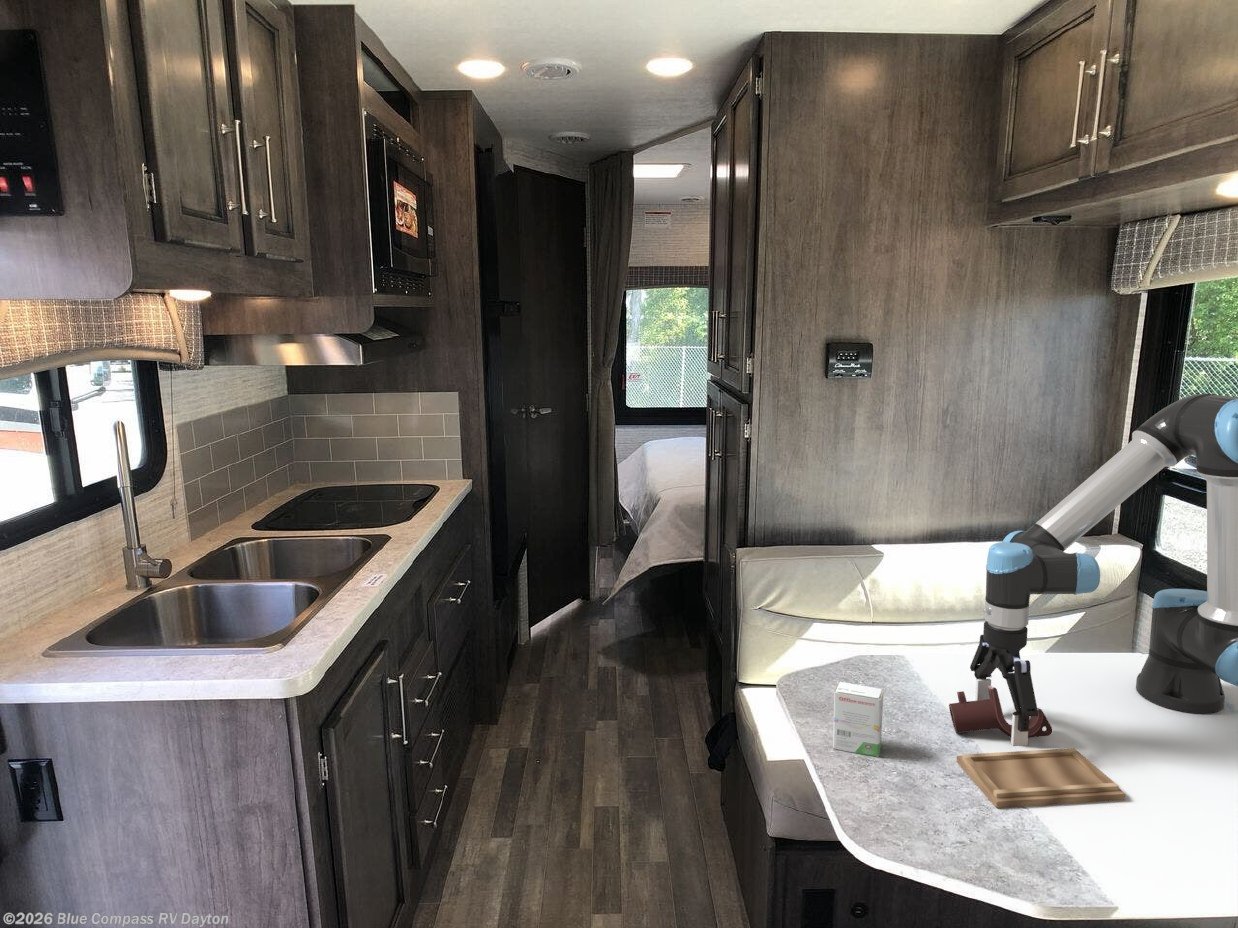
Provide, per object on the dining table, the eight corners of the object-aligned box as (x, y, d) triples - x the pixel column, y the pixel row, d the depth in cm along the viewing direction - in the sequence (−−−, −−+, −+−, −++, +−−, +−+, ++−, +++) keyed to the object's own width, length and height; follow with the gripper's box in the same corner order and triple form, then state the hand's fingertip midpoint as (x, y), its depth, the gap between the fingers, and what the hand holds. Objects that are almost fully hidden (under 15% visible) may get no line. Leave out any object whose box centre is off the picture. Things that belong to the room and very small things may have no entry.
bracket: (1056, 736, 145) (1042, 681, 147) (960, 746, 149) (948, 693, 152) (1049, 732, 151) (1035, 679, 153) (956, 742, 155) (944, 690, 157)
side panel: (1072, 754, 144) (1073, 744, 143) (1124, 800, 130) (1125, 789, 130) (956, 761, 143) (956, 751, 142) (996, 808, 129) (996, 797, 129)
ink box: (832, 749, 149) (833, 691, 147) (836, 735, 153) (837, 680, 151) (879, 758, 145) (880, 699, 143) (882, 744, 150) (884, 687, 148)
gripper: (955, 601, 160) (951, 697, 164) (1022, 651, 136) (1016, 762, 140) (991, 600, 161) (986, 695, 164) (1064, 649, 136) (1056, 760, 140)
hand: (999, 726), depth 152 cm, fingers open, 13 cm apart
